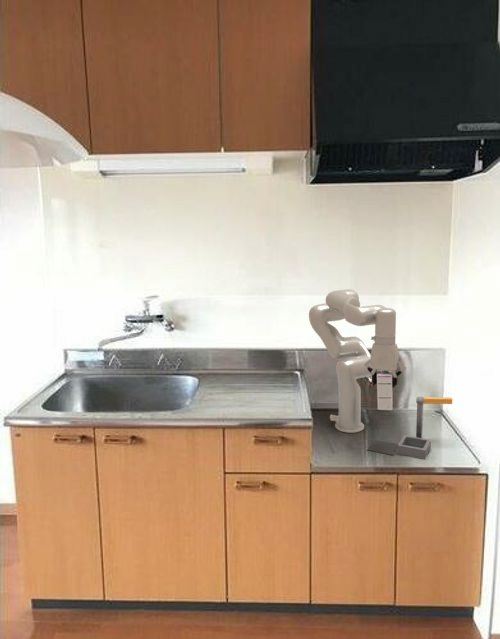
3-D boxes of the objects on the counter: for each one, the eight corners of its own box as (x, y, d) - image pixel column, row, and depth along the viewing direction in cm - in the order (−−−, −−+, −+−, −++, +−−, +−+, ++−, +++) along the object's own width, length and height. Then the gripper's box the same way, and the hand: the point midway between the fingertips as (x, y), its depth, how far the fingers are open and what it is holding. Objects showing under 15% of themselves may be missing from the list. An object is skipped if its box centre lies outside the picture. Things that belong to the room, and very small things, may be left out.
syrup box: (392, 410, 191) (392, 374, 188) (377, 410, 192) (376, 374, 190) (392, 405, 197) (392, 370, 194) (376, 404, 198) (376, 369, 195)
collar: (397, 453, 192) (397, 445, 192) (403, 443, 201) (404, 435, 201) (425, 459, 187) (425, 450, 187) (430, 448, 196) (430, 439, 195)
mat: (367, 450, 196) (367, 449, 196) (374, 440, 205) (374, 439, 205) (392, 455, 191) (392, 454, 191) (398, 445, 200) (398, 444, 200)
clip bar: (452, 404, 196) (452, 399, 195) (417, 404, 197) (417, 399, 197) (450, 401, 199) (450, 397, 198) (415, 401, 200) (415, 396, 200)
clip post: (410, 442, 201) (411, 404, 198) (412, 438, 206) (413, 400, 202) (425, 445, 198) (426, 406, 195) (427, 440, 203) (429, 402, 199)
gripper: (359, 340, 190) (359, 385, 194) (406, 344, 182) (404, 391, 185) (365, 336, 197) (365, 379, 200) (410, 340, 188) (409, 385, 192)
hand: (384, 384), depth 193 cm, fingers closed on syrup box, 6 cm apart
